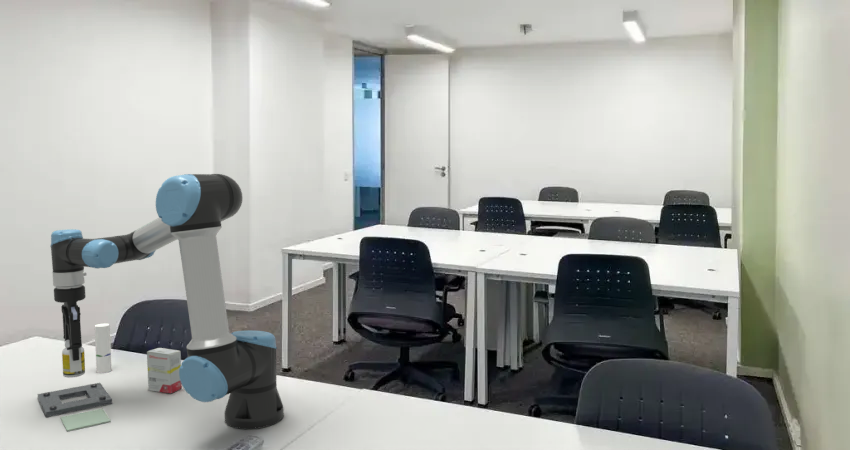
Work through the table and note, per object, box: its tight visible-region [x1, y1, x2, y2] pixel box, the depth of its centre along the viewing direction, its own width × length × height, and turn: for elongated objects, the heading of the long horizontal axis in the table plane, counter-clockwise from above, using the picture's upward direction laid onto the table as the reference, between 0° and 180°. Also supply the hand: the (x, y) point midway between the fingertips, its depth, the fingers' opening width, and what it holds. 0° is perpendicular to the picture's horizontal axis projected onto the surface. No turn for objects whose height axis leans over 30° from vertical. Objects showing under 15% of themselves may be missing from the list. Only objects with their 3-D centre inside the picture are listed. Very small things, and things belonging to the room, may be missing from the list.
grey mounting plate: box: [37, 382, 113, 418], centre depth 179 cm, size 16×16×2 cm
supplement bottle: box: [61, 340, 86, 379], centre depth 178 cm, size 5×5×10 cm
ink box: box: [146, 347, 183, 394], centre depth 189 cm, size 9×5×12 cm, turn 70°
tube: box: [94, 322, 113, 374], centre depth 204 cm, size 4×4×15 cm
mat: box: [60, 408, 112, 432], centre depth 167 cm, size 10×10×1 cm
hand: (74, 368), depth 178 cm, fingers closed on supplement bottle, 5 cm apart
